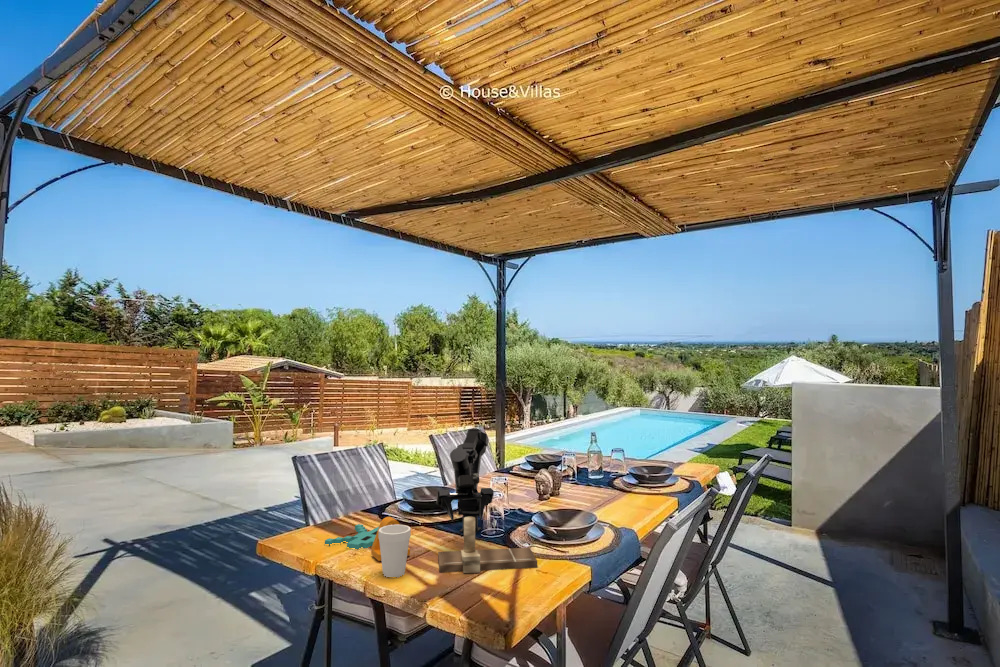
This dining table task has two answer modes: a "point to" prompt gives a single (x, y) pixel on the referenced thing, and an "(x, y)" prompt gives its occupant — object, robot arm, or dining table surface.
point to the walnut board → (490, 559)
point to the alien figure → (357, 538)
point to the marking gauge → (470, 548)
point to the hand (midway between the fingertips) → (467, 519)
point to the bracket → (376, 544)
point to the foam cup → (394, 549)
